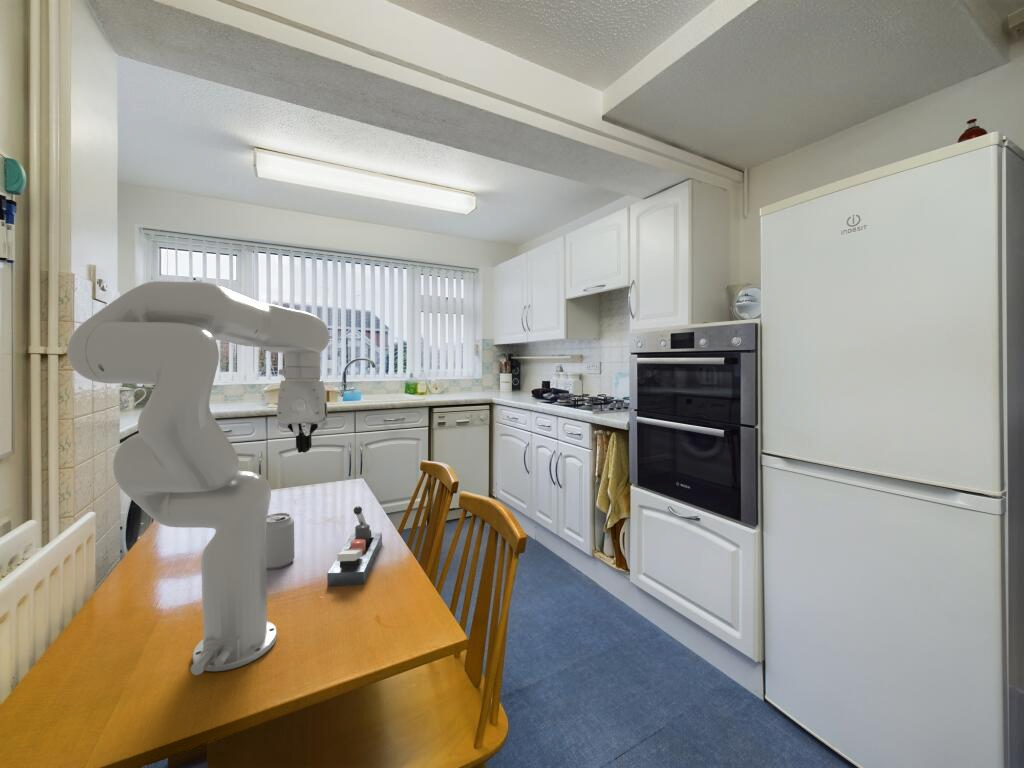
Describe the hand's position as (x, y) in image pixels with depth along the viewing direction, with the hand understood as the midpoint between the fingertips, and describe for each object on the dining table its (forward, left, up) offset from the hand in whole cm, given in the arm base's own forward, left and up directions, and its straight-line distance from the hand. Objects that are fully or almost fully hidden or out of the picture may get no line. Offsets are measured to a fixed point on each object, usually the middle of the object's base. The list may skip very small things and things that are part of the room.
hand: (303, 451), depth 103 cm
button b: (+8, -11, -27) cm, 30 cm away
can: (+4, +8, -29) cm, 31 cm away
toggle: (+13, -11, -25) cm, 30 cm away
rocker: (-4, -11, -24) cm, 27 cm away
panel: (+3, -11, -29) cm, 31 cm away
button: (+3, -11, -29) cm, 31 cm away
